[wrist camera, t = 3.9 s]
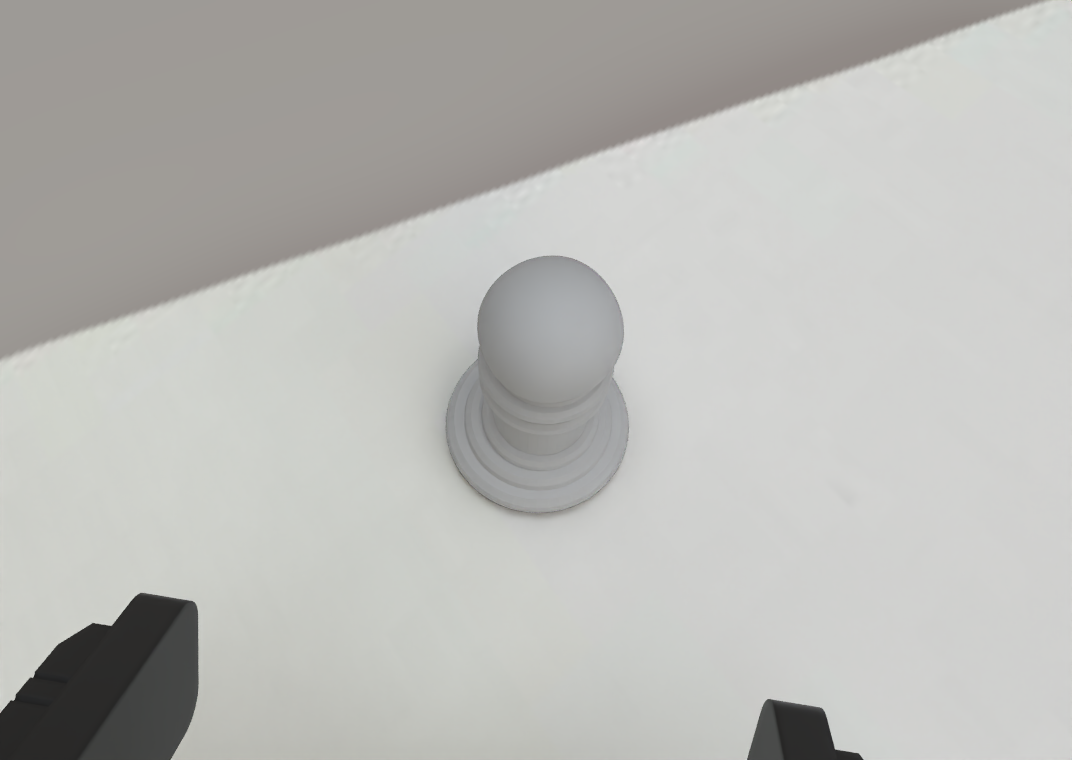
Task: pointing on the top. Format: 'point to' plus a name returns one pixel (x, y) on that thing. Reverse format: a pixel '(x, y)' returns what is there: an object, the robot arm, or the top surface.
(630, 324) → the top surface
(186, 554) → the top surface
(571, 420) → the chess piece
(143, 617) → the robot arm
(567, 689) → the top surface
